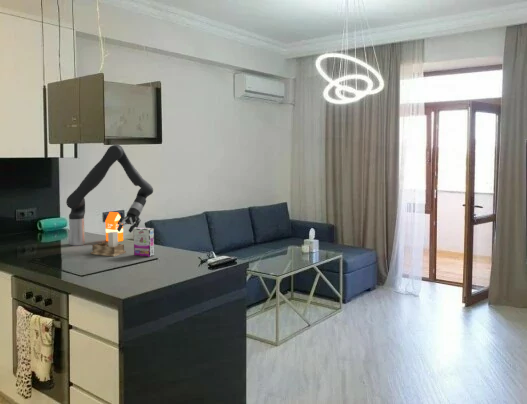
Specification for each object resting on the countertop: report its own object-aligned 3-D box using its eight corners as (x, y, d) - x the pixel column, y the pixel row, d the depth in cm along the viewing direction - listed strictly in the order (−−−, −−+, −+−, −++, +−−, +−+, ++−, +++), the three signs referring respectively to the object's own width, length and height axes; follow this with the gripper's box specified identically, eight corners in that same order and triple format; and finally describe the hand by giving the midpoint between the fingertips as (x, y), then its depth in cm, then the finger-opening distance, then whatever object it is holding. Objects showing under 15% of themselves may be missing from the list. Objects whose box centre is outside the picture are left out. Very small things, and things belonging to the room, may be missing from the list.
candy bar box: (154, 255, 287) (154, 228, 285) (150, 257, 282) (149, 229, 280) (138, 253, 291) (137, 227, 289) (133, 255, 286) (133, 228, 284)
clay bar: (108, 252, 288) (108, 232, 287) (113, 250, 293) (113, 231, 291) (113, 252, 287) (112, 233, 286) (118, 251, 291) (117, 231, 290)
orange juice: (114, 242, 326) (113, 213, 323) (105, 241, 330) (104, 212, 328) (123, 240, 332) (122, 211, 330) (114, 239, 337) (114, 211, 335)
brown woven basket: (90, 253, 289) (90, 245, 289) (103, 250, 300) (103, 242, 299) (113, 256, 283) (113, 247, 282) (125, 252, 293) (125, 244, 293)
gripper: (123, 206, 307) (111, 226, 298) (141, 207, 302) (130, 228, 293) (128, 213, 313) (117, 234, 304) (147, 215, 307) (136, 235, 298)
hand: (124, 231), depth 298 cm, fingers open, 8 cm apart
